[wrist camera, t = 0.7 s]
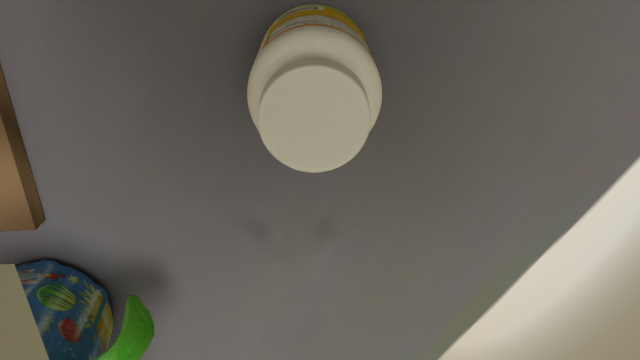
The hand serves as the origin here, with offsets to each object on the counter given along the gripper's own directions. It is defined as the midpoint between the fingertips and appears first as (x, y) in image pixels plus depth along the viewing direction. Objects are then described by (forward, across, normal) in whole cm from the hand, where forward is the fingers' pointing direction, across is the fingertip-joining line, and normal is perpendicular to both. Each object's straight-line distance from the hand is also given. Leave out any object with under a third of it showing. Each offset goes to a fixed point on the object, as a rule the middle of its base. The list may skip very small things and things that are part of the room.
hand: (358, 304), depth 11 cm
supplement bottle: (+19, -1, 0) cm, 19 cm away
